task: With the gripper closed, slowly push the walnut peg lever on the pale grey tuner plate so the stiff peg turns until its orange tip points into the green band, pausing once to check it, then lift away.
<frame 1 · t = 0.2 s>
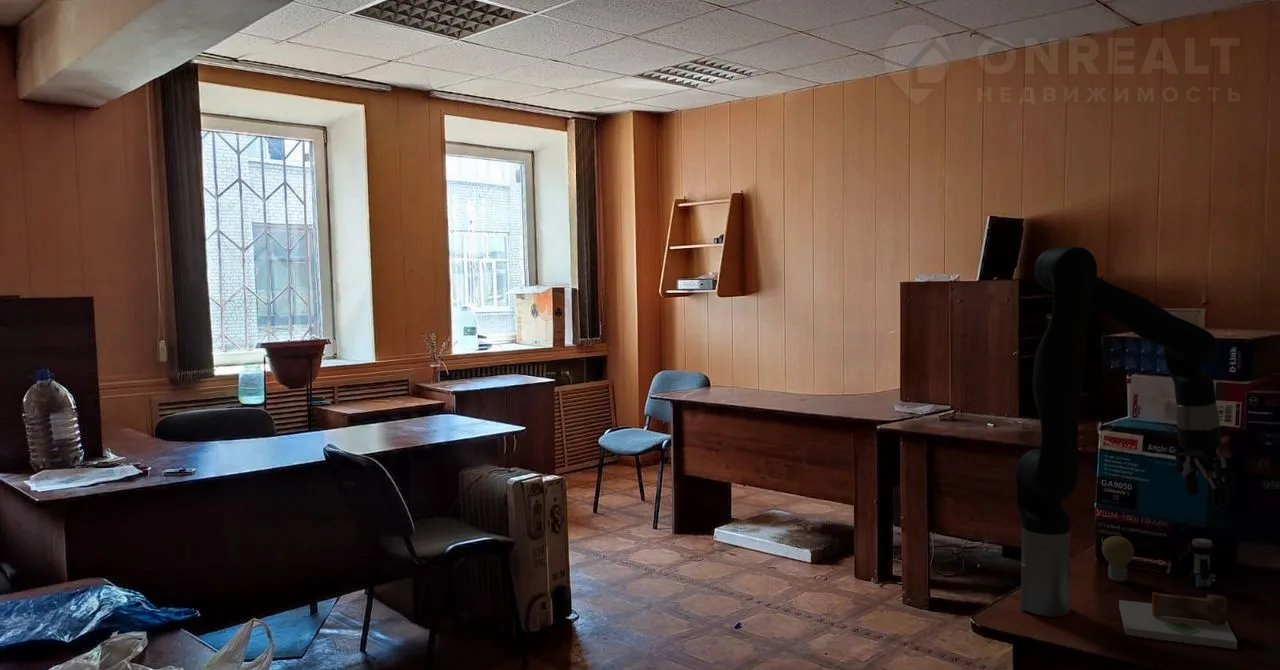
hand: (1205, 499, 183), 22 cm above the table, tool pointing down, fingers open, 8 cm apart
peg lever: (1188, 606, 171), point 4 cm above the table, hinge at 0.0°
light bulb: (1117, 580, 197), on the table
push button: (1203, 585, 193), on the table
tuner plate: (1174, 626, 172), on the table
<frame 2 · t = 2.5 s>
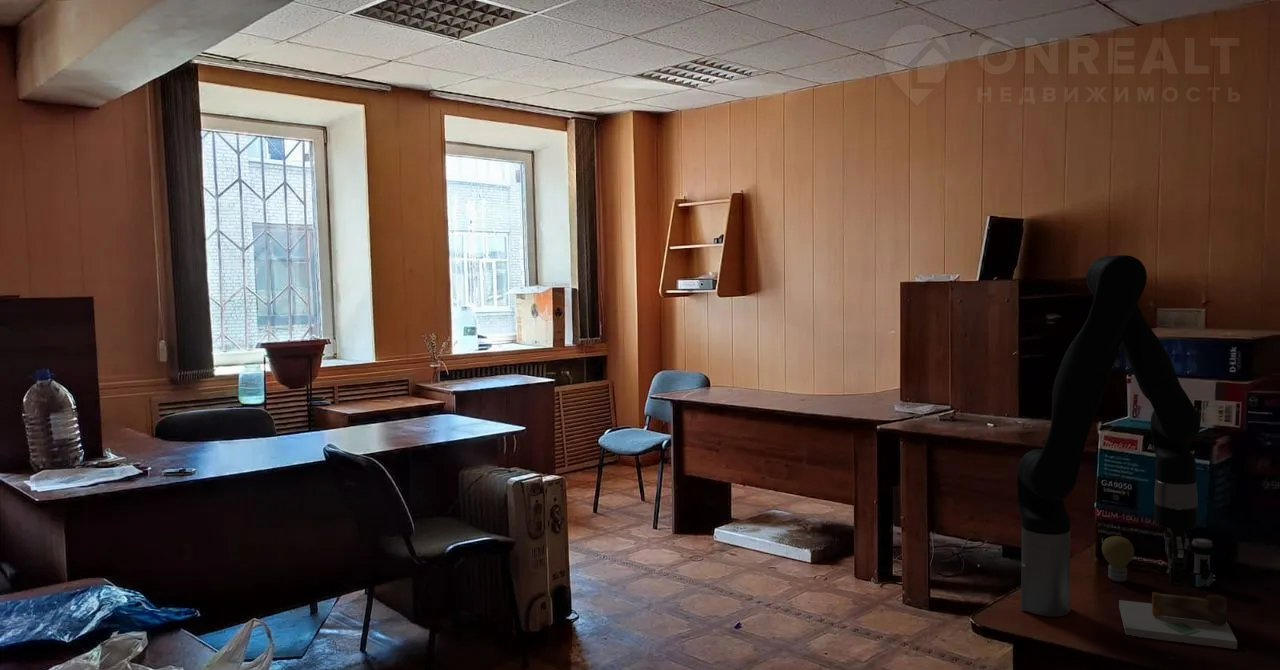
hand: (1176, 585, 179), 5 cm above the table, tool pointing down, fingers closed
nothing on the table moved.
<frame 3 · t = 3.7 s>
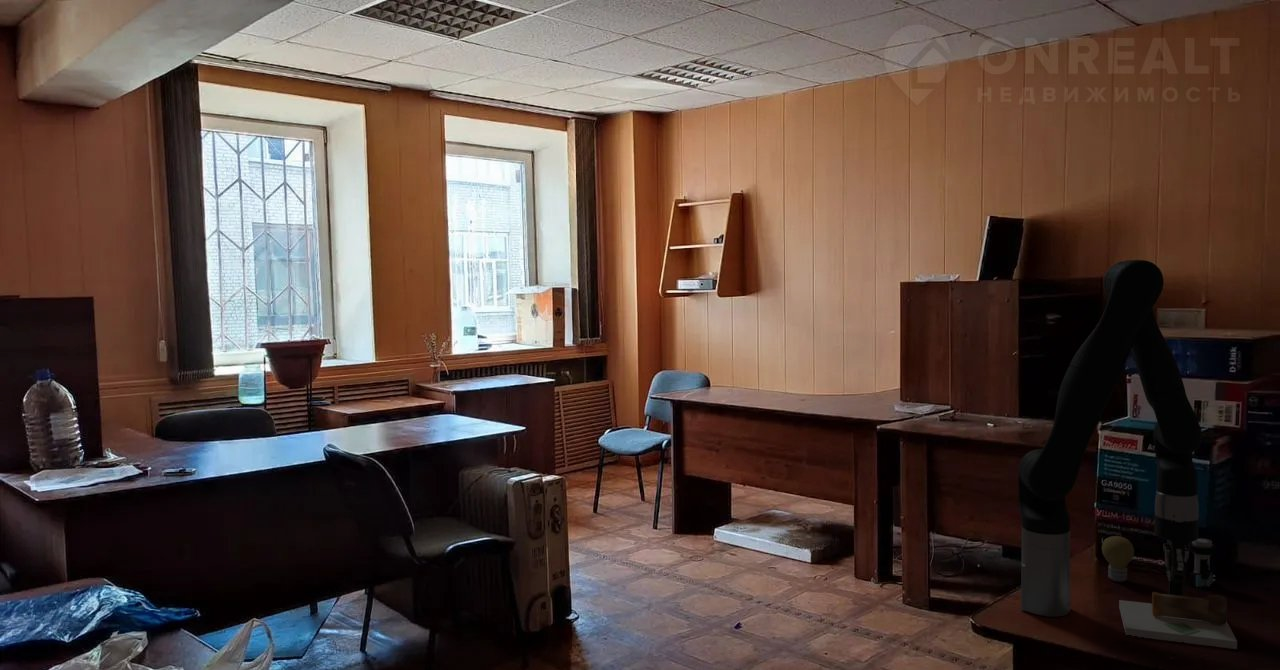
hand: (1175, 597, 177), 3 cm above the table, tool pointing down, fingers closed
nothing on the table moved.
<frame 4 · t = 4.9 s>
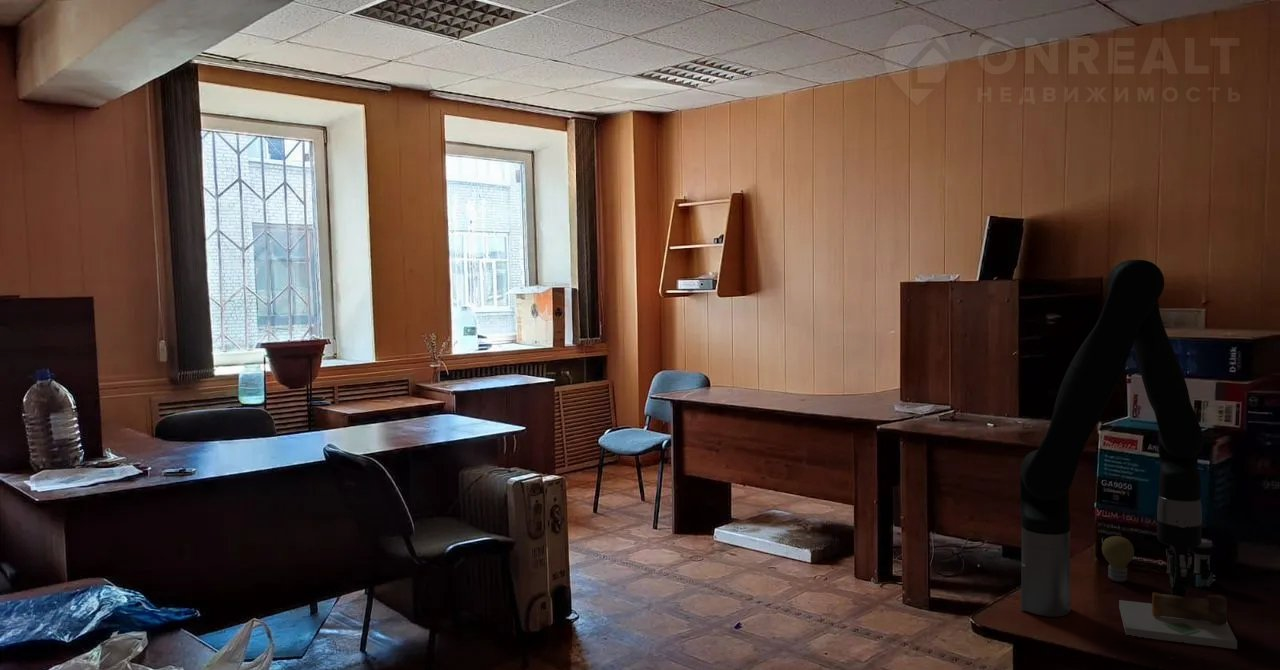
hand: (1178, 604, 174), 4 cm above the table, tool pointing down, fingers closed
peg lever: (1189, 606, 171), point 4 cm above the table, hinge at 1.1°, touching gripper
everything else where it was.
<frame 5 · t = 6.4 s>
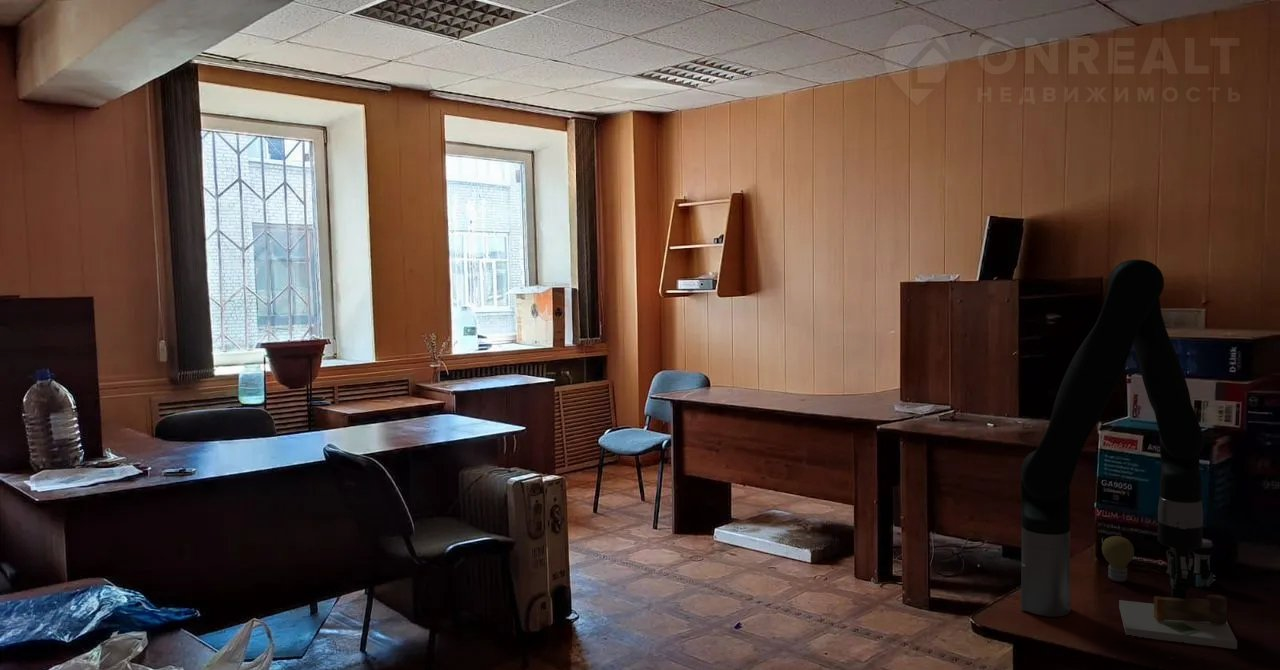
hand: (1178, 606, 173), 4 cm above the table, tool pointing down, fingers closed
peg lever: (1190, 608, 170), point 4 cm above the table, hinge at 12.6°, touching gripper
everything else where it was.
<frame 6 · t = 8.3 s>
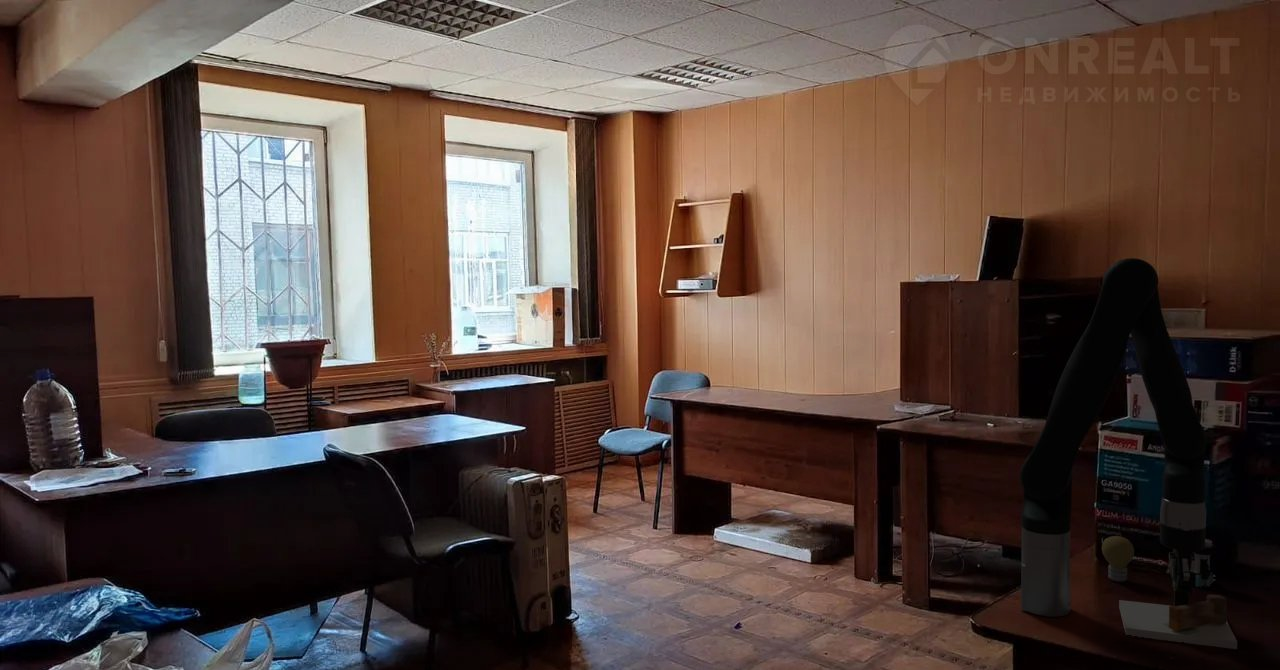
hand: (1180, 609, 170), 4 cm above the table, tool pointing down, fingers closed
peg lever: (1198, 612, 168), point 4 cm above the table, hinge at 41.1°
everything else where it was.
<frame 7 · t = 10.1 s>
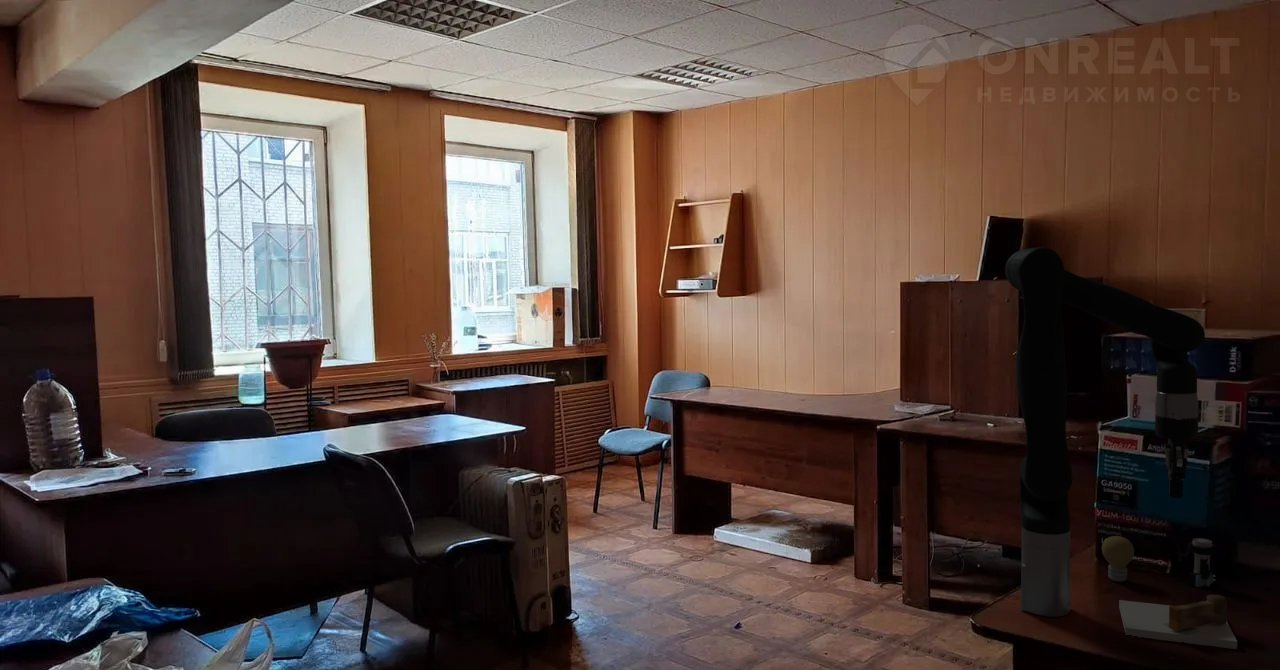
hand: (1175, 497, 179), 23 cm above the table, tool pointing down, fingers closed
nothing on the table moved.
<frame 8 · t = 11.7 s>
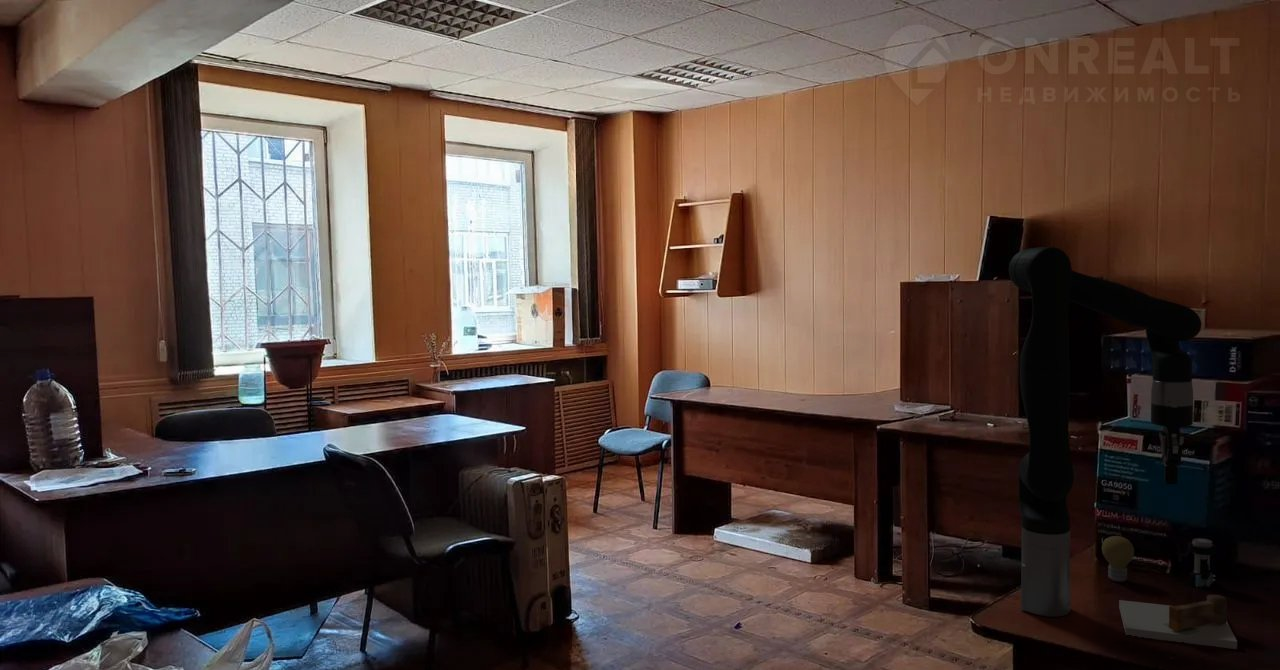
hand: (1170, 483, 183), 25 cm above the table, tool pointing down, fingers closed
nothing on the table moved.
at the end: peg lever at +41° (first picture: +0°); light bulb moved 0.2 cm from its start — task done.
